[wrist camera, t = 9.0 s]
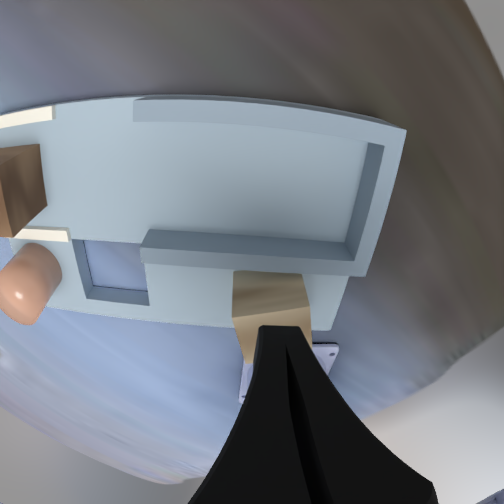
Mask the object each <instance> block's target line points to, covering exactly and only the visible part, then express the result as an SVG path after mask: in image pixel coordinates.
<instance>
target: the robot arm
mask: <svg viewBox="0 0 504 504" xmlns="http://www.w3.org/2000/svg"><path fill="white" fill-rule="evenodd" d="M338 351H339V346H338V345H337V344H312V349H311V347H310V345H309V343H308V342H307V340H306V338H305V336H304V334H303V332H302V330H301V328H300V327H299V326H277V325H262V326H260V327H259V328H258V334H257V340H256V346H255V353H254V359H253V363H250V364H246V363H245V360H244V361H243V368H242V376H241V384H240V391H239V402H240V403H243V404H242V407H241V409H240V412H239V414H238V417H237V419H236V421H235V424H234V426H233V428H232V430H231V432H230V434H229V436H228V438H227V440H226V442H225V444H224V446H223V448H222V450H221V452H220V454H219V456H218V457H217V459H216V461H215V462H214V464H213V466H212V468H211V469H210V471H209V473H208V474H207V476H206V478H205V479H204V481H203V482H202V484H201V485H200V487H199V488H198V490H197V491H196V493H195V494H194V495H193V497H192V498H191V500H190V501H189V502H188V504H438V499H437V495H436V492H435V489H434V486H433V483H432V482H431V481H429V480H427V479H426V478H425V477H423V476H421V475H420V474H419V473H417V472H416V471H415V470H413V469H412V468H411V467H409V466H408V465H407V464H405V463H404V462H403V461H402V460H400V459H399V458H398V457H397V456H396V455H394V454H393V453H392V452H391V451H390V450H389V449H388V448H387V447H386V446H385V445H384V444H383V443H382V442H381V441H379V440H378V439H377V438H376V437H375V436H374V435H373V434H372V433H371V431H370V430H369V429H368V428H367V427H366V426H365V425H364V424H363V423H362V422H361V420H360V419H359V418H358V417H357V416H356V415H355V413H354V412H353V411H352V410H351V408H350V407H349V406H348V405H347V403H346V402H345V401H344V399H343V398H342V396H341V395H340V394H339V392H338V391H337V389H336V388H335V387H334V385H333V384H332V382H331V381H330V379H329V377H328V373H329V371H330V369H331V367H332V365H333V362H334V360H335V358H336V356H337V354H338ZM0 504H3V503H1V502H0ZM476 504H504V489H502V490H501V491H498V492H496V493H494V494H493V495H491V496H489V497H487V498H486V499H484V500H482V501H480V502H478V503H476Z"/></svg>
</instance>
